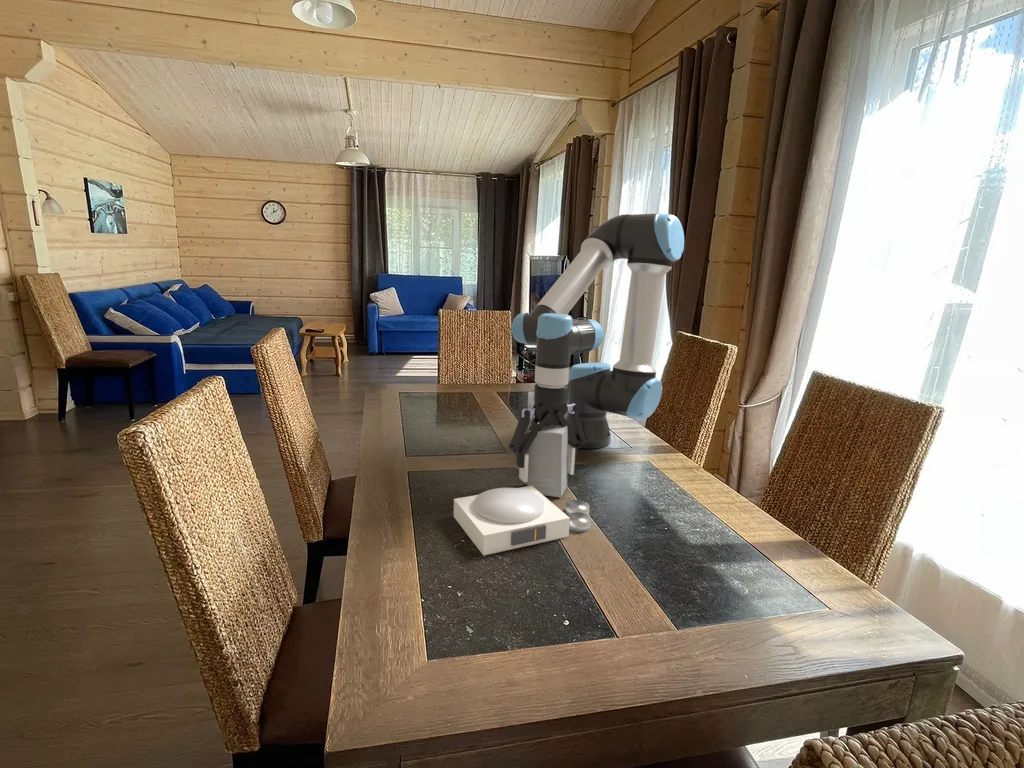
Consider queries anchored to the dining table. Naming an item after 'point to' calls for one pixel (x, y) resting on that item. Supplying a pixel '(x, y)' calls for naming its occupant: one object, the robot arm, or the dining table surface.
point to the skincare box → (549, 460)
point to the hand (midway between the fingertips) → (546, 476)
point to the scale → (510, 519)
